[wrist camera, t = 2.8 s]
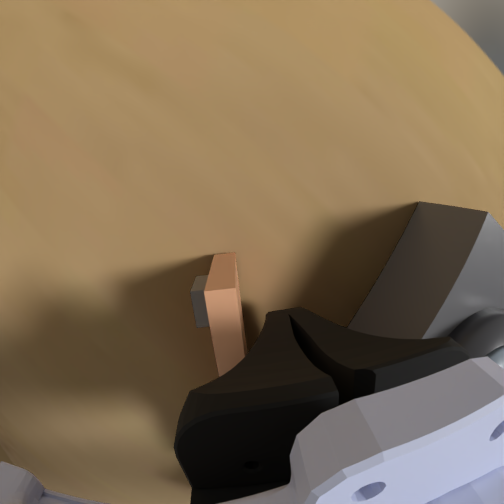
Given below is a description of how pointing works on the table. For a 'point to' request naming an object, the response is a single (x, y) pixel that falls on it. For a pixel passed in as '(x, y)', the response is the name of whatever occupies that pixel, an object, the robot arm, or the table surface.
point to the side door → (221, 310)
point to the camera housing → (442, 282)
